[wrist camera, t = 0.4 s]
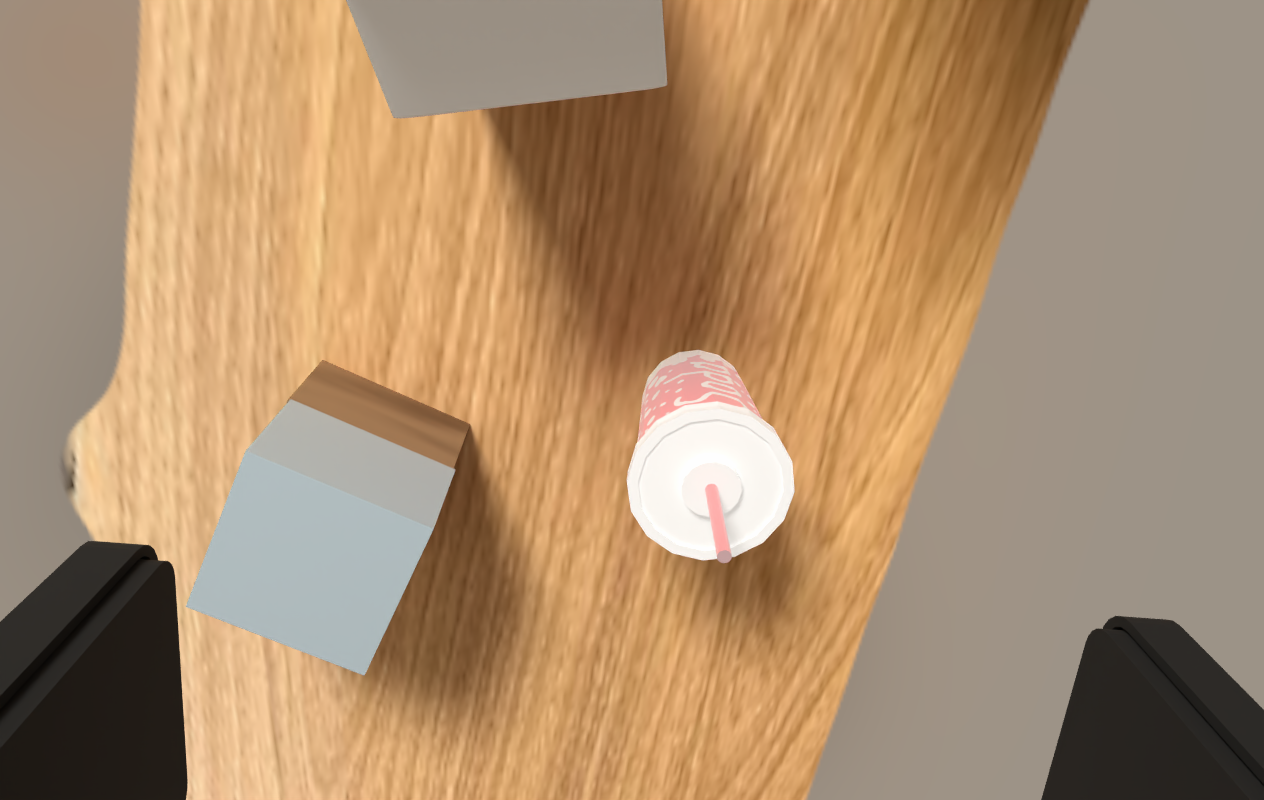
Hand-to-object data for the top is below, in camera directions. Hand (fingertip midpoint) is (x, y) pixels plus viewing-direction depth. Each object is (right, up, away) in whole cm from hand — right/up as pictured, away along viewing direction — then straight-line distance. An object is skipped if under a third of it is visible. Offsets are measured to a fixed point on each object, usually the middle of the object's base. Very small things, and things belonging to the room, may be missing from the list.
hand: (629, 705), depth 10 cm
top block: (-12, -1, +31) cm, 33 cm away
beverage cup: (+3, +3, +35) cm, 35 cm away
